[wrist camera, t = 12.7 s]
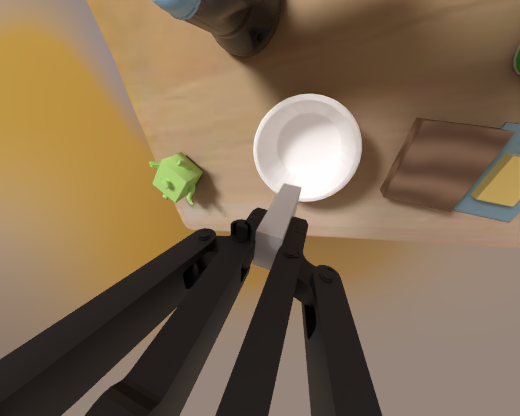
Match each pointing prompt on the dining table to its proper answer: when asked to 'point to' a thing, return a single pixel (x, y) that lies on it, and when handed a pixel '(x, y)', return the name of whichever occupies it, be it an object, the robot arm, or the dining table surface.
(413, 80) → the dining table surface
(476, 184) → the mat
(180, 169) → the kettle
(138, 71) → the dining table surface
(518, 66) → the soda can
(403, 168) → the brown wooden slab
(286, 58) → the dining table surface
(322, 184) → the bowl
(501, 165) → the block
